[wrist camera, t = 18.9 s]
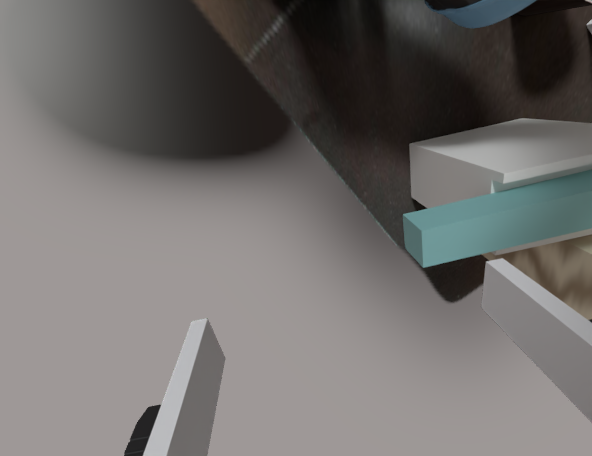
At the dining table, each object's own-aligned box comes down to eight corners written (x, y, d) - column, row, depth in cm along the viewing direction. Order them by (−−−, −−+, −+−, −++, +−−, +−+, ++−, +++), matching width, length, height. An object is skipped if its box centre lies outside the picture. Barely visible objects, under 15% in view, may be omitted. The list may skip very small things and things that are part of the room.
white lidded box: (409, 143, 45) (504, 173, 27) (522, 118, 45) (696, 130, 26) (411, 197, 48) (495, 255, 30) (515, 173, 48) (663, 218, 30)
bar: (402, 214, 29) (421, 230, 25) (696, 144, 29) (758, 150, 25) (405, 247, 31) (423, 267, 27) (682, 182, 30) (739, 193, 27)
